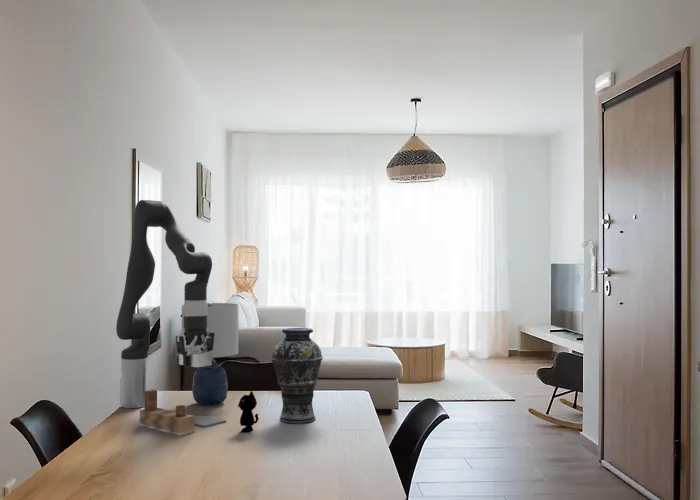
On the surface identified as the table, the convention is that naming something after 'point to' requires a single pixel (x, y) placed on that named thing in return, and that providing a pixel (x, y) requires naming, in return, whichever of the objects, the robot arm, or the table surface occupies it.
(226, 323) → the lamp
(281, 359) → the vase
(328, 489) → the table surface
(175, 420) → the plane body
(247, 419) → the cat figurine
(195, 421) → the felt mat
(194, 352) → the lever cap
